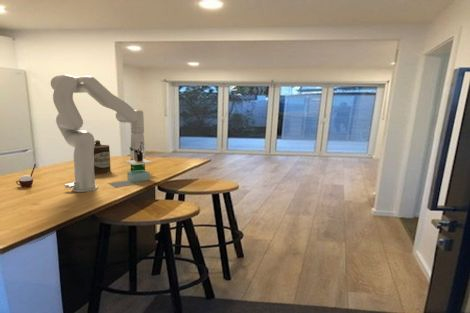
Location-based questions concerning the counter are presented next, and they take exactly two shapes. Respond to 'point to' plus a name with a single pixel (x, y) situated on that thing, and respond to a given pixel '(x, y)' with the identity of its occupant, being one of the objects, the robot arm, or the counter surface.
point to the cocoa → (26, 180)
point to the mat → (122, 184)
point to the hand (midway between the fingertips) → (138, 160)
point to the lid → (135, 162)
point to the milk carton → (133, 167)
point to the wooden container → (101, 158)
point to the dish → (138, 175)
